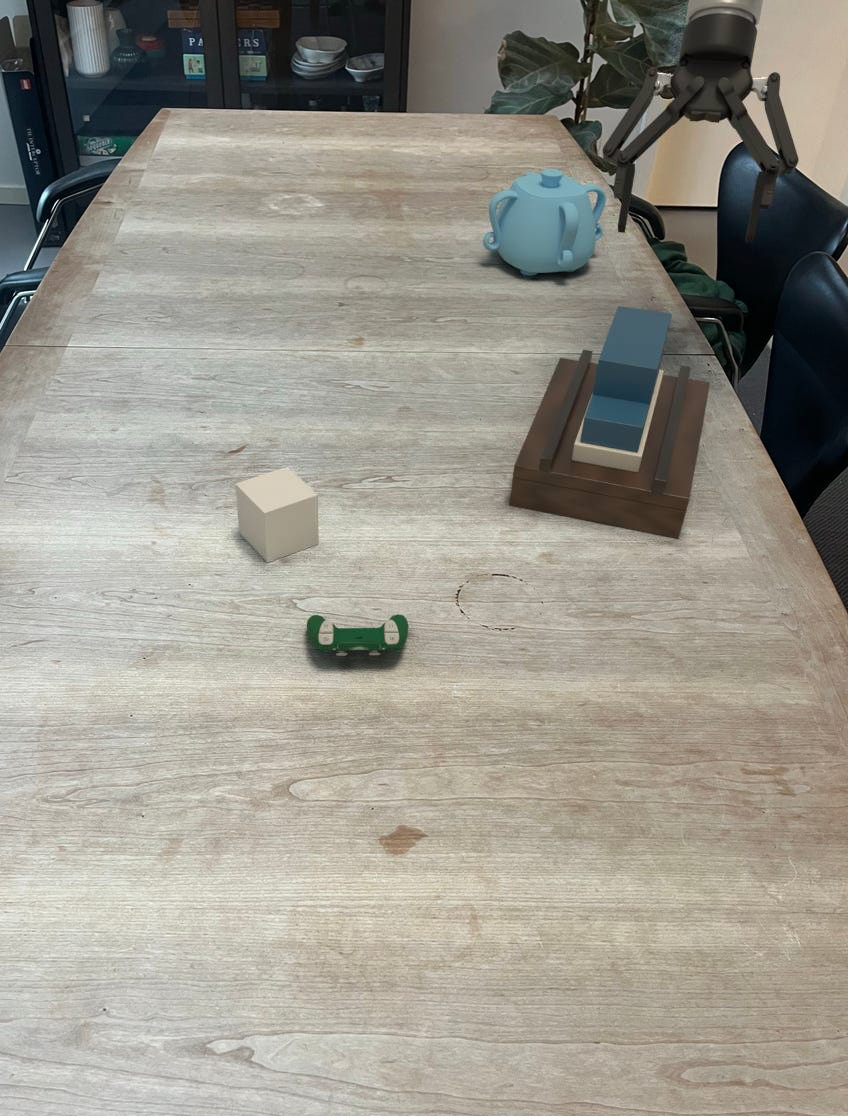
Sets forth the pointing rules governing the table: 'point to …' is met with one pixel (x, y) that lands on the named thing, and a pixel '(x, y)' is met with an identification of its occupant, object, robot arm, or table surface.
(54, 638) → the table surface
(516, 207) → the decorative pot
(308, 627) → the gaming controller
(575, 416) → the shoe shelf
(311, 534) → the beige cube
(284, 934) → the table surface
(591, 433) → the trainer
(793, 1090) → the table surface
